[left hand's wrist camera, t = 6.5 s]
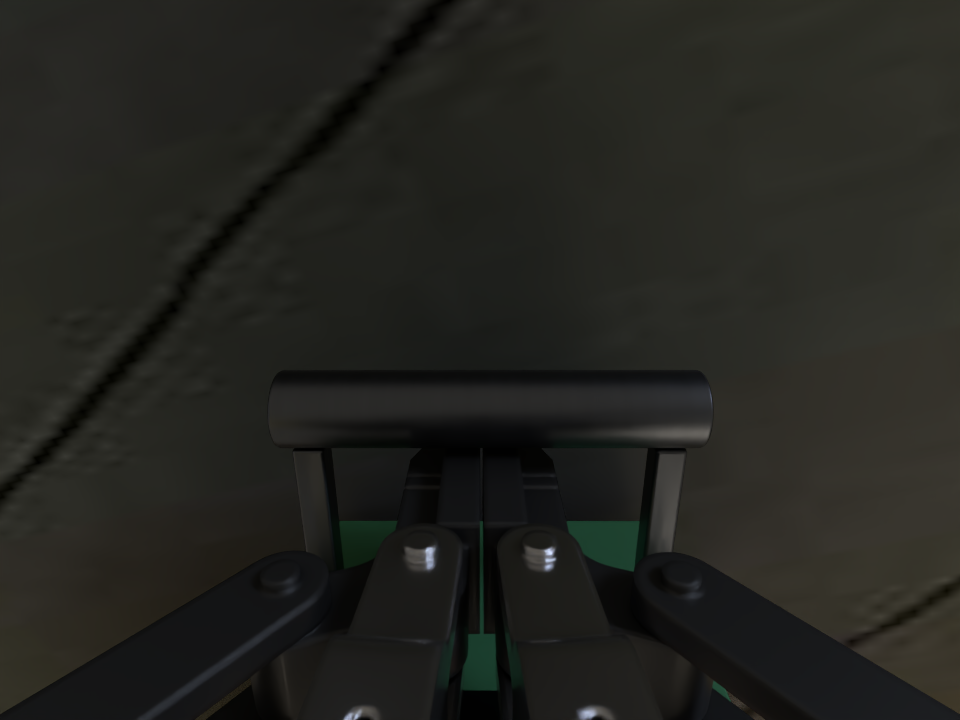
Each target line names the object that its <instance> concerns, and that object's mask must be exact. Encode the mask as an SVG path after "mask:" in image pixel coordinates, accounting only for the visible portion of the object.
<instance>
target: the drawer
mask: <svg viewBox="0 0 960 720" xmlns="http://www.w3.org/2000/svg"><path fill="white" fill-rule="evenodd" d="M712 425H713V399H712V393H711V389H710V386H709V383H708V381H707V378H706V377H705V375H704V374H703V373H702V372H700V371H698V370H284V371H281V372H279V373H278V374H277V375H276V376H275V378H274V380H273V382H272V385H271V388H270V393H269V399H268V426H269V431H270V435H271V438H272V440H273V442H274V444H275V445H276V446H278V447H280V448H294V450H293V459H294V466H295V474H296V481H297V488H298V496H299V503H300V511H301V518H302V525H303V533H304V540H305V548H306V552H309V553H312V554H315V555H317V556H319V557H320V558H321V559H322V560H323V561H324V562H325V563H326V565H327V567H328V572H333V571H337V570H341V569H345V568H350V567H353V566H357V565H360V564H363V563H365V562H368V561H370V560H372V559H373V558H375V557H376V554H377V552H378V549H379V547H380V545H381V543H382V541H383V540H384V539H385V538H386V537H387V536H388V535H389V534H391V533H392V532H394V531H395V529H396V524H397V521H339V516H338V507H337V497H336V488H335V479H334V469H333V460H332V451H331V448H648V453H647V461H646V470H645V479H644V487H643V496H642V505H641V513H640V521H567V526H568V530H569V534H571V535H572V536H573V537H574V538H575V539H576V540H577V541H578V543H579V545H580V547H581V549H582V552H583V554H585V555H586V556H588V557H589V558H591V559H593V560H595V561H597V562H599V563H602V564H604V565H608V566H611V567H615V568H620V569H624V570H628V571H632V572H634V569H635V566H636V565H637V563H638V562H639V561H640V560H641V559H642V558H644V557H646V556H648V555H651V554H654V553H659V552H673V546H674V539H675V532H676V525H677V518H678V511H679V504H680V497H681V490H682V483H683V476H684V469H685V462H686V455H687V451H686V449H685V448H701V447H703V446H704V445H705V444H706V443H707V442H708V440H709V437H710V434H711V431H712ZM712 688H714V689H715V690H716V691H717V692H719V693H720V694H721V695H723V696H724V697H725V698H727V699H728V700H729V701H730V702H731V700H730V698H729V696H728V694H727V691H726V689H724V688H723V687H722V686H720V685H719V684H718V683H716V682H715V681H713V686H712ZM460 720H500V711H499V702H498V694H497V685H496V643H495V634H484V611H483V521H480V634H469V636H468V656H467V659H466V662H465V664H464V685H463V694H462V702H461V711H460Z"/></svg>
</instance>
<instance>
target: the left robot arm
mask: <svg viewBox="0 0 960 720" xmlns="http://www.w3.org/2000/svg"><path fill="white" fill-rule="evenodd" d="M483 611H484V634H495V643H496V685H497V694H498V702H499V711H500V720H754V719H753V718H751V717H750V716H749V715H747V714H746V713H745V712H744V711H742V710H741V709H740V708H738V707H737V706H736V705H734V704H733V703H732V702H730V701H729V700H728V699H727V698H725V697H724V696H723V695H721V694H720V693H719V692H717V691H716V690H715V689H714V688H712V686H713V681H715V682H716V683H718V684H719V685H720V686H722V687H723V688H724V689H726V690H727V691H728V692H730V693H731V694H732V695H734V696H735V697H736V698H738V699H739V700H740V701H742V702H743V703H744V704H746V705H747V706H748V707H750V708H751V709H752V710H754V711H755V712H756V713H758V714H759V715H760V716H762V717H763V718H764V719H766V720H960V714H958V713H957V712H955V711H953V710H952V709H950V708H948V707H947V706H945V705H943V704H942V703H940V702H938V701H936V700H935V699H933V698H931V697H930V696H928V695H926V694H925V693H923V692H921V691H920V690H918V689H916V688H915V687H913V686H911V685H910V684H908V683H906V682H905V681H903V680H901V679H900V678H898V677H896V676H895V675H893V674H891V673H889V672H888V671H886V670H884V669H883V668H881V667H879V666H878V665H876V664H874V663H873V662H871V661H869V660H868V659H866V658H864V657H863V656H861V655H859V654H858V653H856V652H854V651H853V650H851V649H849V648H848V647H846V646H844V645H843V644H841V643H839V642H837V641H836V640H834V639H832V638H831V637H829V636H827V635H826V634H824V633H822V632H821V631H819V630H817V629H816V628H814V627H812V626H811V625H809V624H807V623H806V622H804V621H802V620H801V619H799V618H797V617H796V616H794V615H792V614H791V613H789V612H787V611H785V610H784V609H782V608H780V607H779V606H777V605H775V604H774V603H772V602H770V601H769V600H767V599H765V598H764V597H762V596H760V595H759V594H757V593H755V592H754V591H752V590H750V589H749V588H747V587H745V586H744V585H742V584H740V583H739V582H737V581H735V580H733V579H732V578H730V577H728V576H727V575H725V574H723V573H722V572H720V571H718V570H717V569H715V568H713V567H712V566H710V565H708V564H707V563H705V562H703V561H701V560H699V559H697V558H694V557H692V556H688V555H685V554H681V553H674V552H659V553H654V554H651V555H648V556H646V557H644V558H642V559H641V560H640V561H639V562H638V563H637V565H636V566H635V569H634V572H632V571H628V570H624V569H620V568H615V567H611V566H608V565H604V564H602V563H599V562H597V561H595V560H593V559H591V558H589V557H588V556H586V555H585V554H583V552H582V549H581V547H580V545H579V543H578V541H577V540H576V539H575V538H574V537H573V536H572V535H571V534H569V530H568V526H567V521H566V517H565V513H564V508H563V504H562V500H561V495H560V491H559V489H558V482H557V478H556V473H555V469H554V465H553V460H552V459H551V458H550V457H549V456H548V455H547V454H546V453H545V452H544V451H543V450H542V449H541V448H483ZM469 634H480V448H422V449H421V450H420V451H419V452H418V453H417V454H416V455H415V456H414V457H413V458H412V459H411V460H410V465H409V469H408V474H407V479H406V483H405V490H404V492H403V497H402V501H401V506H400V510H399V515H398V520H397V524H396V529H395V531H394V532H392V533H391V534H389V535H388V536H387V537H386V538H385V539H384V540H383V541H382V543H381V545H380V547H379V549H378V552H377V554H376V557H375V558H373V559H372V560H370V561H368V562H365V563H363V564H360V565H357V566H353V567H350V568H345V569H341V570H337V571H333V572H328V567H327V565H326V563H325V562H324V561H323V560H322V559H321V558H320V557H319V556H317V555H315V554H312V553H309V552H304V551H286V552H280V553H276V554H273V555H270V556H267V557H265V558H263V559H261V560H259V561H257V562H255V563H253V564H252V565H250V566H248V567H247V568H245V569H243V570H242V571H240V572H238V573H237V574H235V575H233V576H232V577H230V578H228V579H227V580H225V581H223V582H222V583H220V584H218V585H216V586H215V587H213V588H211V589H210V590H208V591H206V592H205V593H203V594H201V595H200V596H198V597H196V598H195V599H193V600H191V601H190V602H188V603H186V604H185V605H183V606H181V607H180V608H178V609H176V610H175V611H173V612H171V613H170V614H168V615H166V616H164V617H163V618H161V619H159V620H158V621H156V622H154V623H153V624H151V625H149V626H148V627H146V628H144V629H143V630H141V631H139V632H138V633H136V634H134V635H133V636H131V637H129V638H128V639H126V640H124V641H123V642H121V643H119V644H117V645H116V646H114V647H112V648H111V649H109V650H107V651H106V652H104V653H102V654H101V655H99V656H97V657H96V658H94V659H92V660H91V661H89V662H87V663H86V664H84V665H82V666H81V667H79V668H77V669H76V670H74V671H72V672H71V673H69V674H67V675H65V676H64V677H62V678H60V679H59V680H57V681H55V682H54V683H52V684H50V685H49V686H47V687H45V688H44V689H42V690H40V691H39V692H37V693H35V694H34V695H32V696H30V697H29V698H27V699H25V700H24V701H22V702H20V703H19V704H17V705H15V706H13V707H12V708H10V709H8V710H7V711H5V712H3V713H2V714H0V720H195V719H196V718H197V717H198V716H200V715H201V714H202V713H204V712H205V711H206V710H208V709H209V708H210V707H212V706H213V705H214V704H216V703H217V702H218V701H220V700H221V699H222V698H224V697H225V696H226V695H228V694H229V693H230V692H232V691H233V690H234V689H236V688H237V687H238V686H240V685H241V684H242V683H244V682H245V681H246V680H248V679H249V678H250V680H251V685H250V686H249V687H248V688H246V689H245V690H244V691H243V692H241V693H240V694H239V695H237V696H236V697H235V698H233V699H232V700H231V701H230V702H228V703H227V704H226V705H224V706H223V707H222V708H220V709H219V710H218V711H216V712H215V713H214V714H213V715H211V716H210V717H209V718H207V719H206V720H460V711H461V702H462V694H463V685H464V664H465V662H466V659H467V656H468V636H469Z"/></svg>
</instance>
